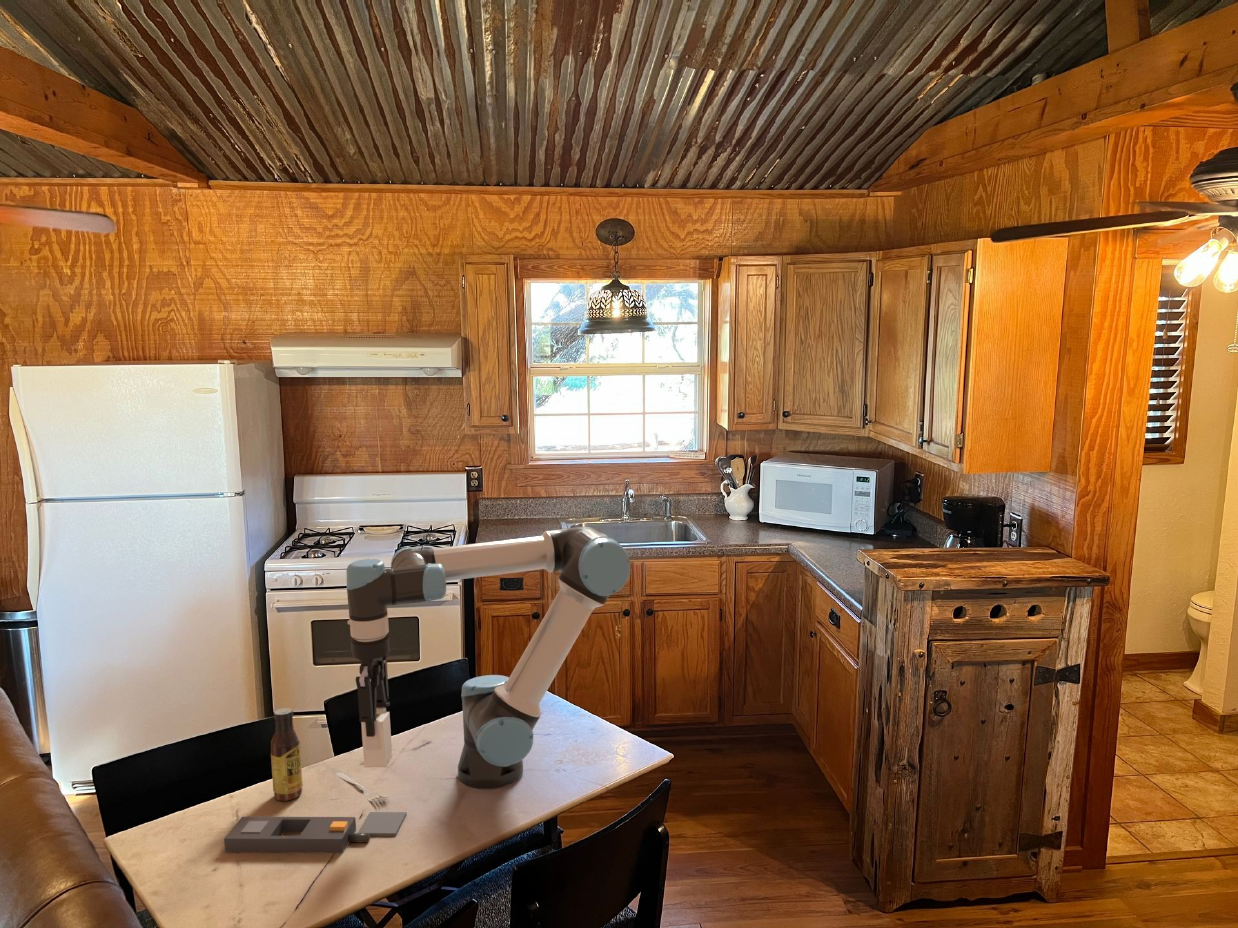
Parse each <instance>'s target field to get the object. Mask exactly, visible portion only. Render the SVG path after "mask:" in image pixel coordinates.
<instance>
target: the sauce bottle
mask: <svg viewBox="0 0 1238 928" xmlns="http://www.w3.org/2000/svg"><path fill="white" fill-rule="evenodd" d="M293 717H294V710H293V709H292V708H291V707H283V708H282V707H281V708H277V709H276V710H274V712H273V719H274V725H275V726H274V727H275V729H274V731H275V732H274V734H273V736H272V739H271V741H270V759H271V763H270V764H271V775H272V777H271V778H272V790H273V791H272V792H273V793H274V794H273V795H274V799H276V800H277V801H281V802H286V801H291V800H294V799H296V798H298V797H299V796H301V794H302V792H303V785H304V784H303V783H304V782H303V770H302V769H303V768H302V752H301V742H300V740H299V738H298V735H297V733H296V730H295V729H294V720H293V719H294V718H293Z"/></svg>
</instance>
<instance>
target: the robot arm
mask: <svg viewBox="0 0 1238 928" xmlns="http://www.w3.org/2000/svg"><path fill="white" fill-rule="evenodd" d="M537 570H538V571H539V570H545V571H547V572H548V573H555V572H556V573H557V572H561V573H560V575H559V576H558V578H557V580H558V584H559V585H558V586H559V591H558V592H557V593H556V595H555V597H554V599H553V600H552V603H550V606H549V608H548V610H547V611H546V613H545V615H544V617H543V618H542V620H541V622H540V624H539V625H538V627H537V629H536V631H535V632H534V634H533V636H532V638H531V639H530V641H529V642H528V645H527V646H526V648H525V650H523V653H522V655H521V656H520V659H519V660H518V661H517V663H516V666H515V667H514V669H513V671H512V672H511V674H510V675H509V676H505V675H502V674H501V675H500V674H488V675H481V676H476V677H473V678H470V679H468V680H466V681H465V682H464V683H463V684H462V686H461V695H460V696H461V701H462V704H461V705H462V723H463V725H462V726H463V747H462V750H461V754H460V756H459V757H460V758H459V761H458V765H457V776H458V779H459V782H461V783H462V784H463V785H465V786H467V787H470V788H473V789H480V790H481V789H482V790H483V789H484V790H486V789H487V790H489V789H491V790H492V789H497V788H502V787H506V786H508V785H511V784H512V783H514V782H516V781H517V780H519V779H520V778H521V776H522V775H523V773H524V761H523V760H524V759H525V758H526V757H527V756H528V755H529V753H530V751H531V750H532V748H533V745H534V731H533V730H534V728H535V726H536V725H537V723H538V721H539V719H540V718H541V715H542V711H541V707H540V706H541V705H540V704H541V702H542V700H543V698H544V696H545V695H546V693H547V691H548V689H549V688H550V686H551V684H552V682H553V681H554V679H555V677H556V676H557V674H558V672H559V671H560V668H561V667H562V665H563V663H564V662H565V660H566V658H567V656H568V654H569V653H570V651H571V650H572V647H573V645H574V644H575V643H576V640H577V639H578V637H579V635H580V633H581V632H582V630H583V628H584V627H585V625H586V623H587V621H588V619H589V618H590V616H591V615H592V613H593V611H594V610H595V609H596V608H599V607H603V606H604V605H605V603H606V602H607V601H608V599H609V597H610V596H611V595H614V594H615V593H618V592H619V591H621V590H622V589H623V587H624V586H625V585H626V584H627V582H628V580H629V578H630V574H631V561H630V557H629V555H628V553H627V551H626V550H625V548H624V547H623V546H622V545H621V543H619V542H618V541H617V540H616V539H614V538H611V537H610V536H608V535H607V534H605V533H604V532H603V531H601V530H600V529H598V528H595V527H591V526H574V527H567V528H560V529H553V530H544V532H543V533H542V534H541V535H539V536H530V537H522V538H514V539H504V540H495V541H488V542H487V541H486V542H479V543H468V544H462V545H461V544H460V545H455V546H445V547H437V548H428V549H427V548H426V549H425V548H424V549H416V548H414V547H411V546H409V547H407V546H406V547H403V548H402V547H401V548H400V549H399V550H397V551H395V553H394V554H393V556H392V559H391V561H390V568H386V566H385V563H384V561H382V560H381V559H377V558H371V559H370V558H366V559H365V558H364V559H359V560H356V561H352V562H351V563H349V565H347V568H346V593H347V594H346V595H347V606H348V617H349V620H347V625H349V630H350V637H351V638H350V649H351V656H352V658H354V659H357V660H359V661H360V665H359V671H358V672H359V675H360V676H356V677H355V684H356V689H357V698H358V699H357V700H358V702H357V703H358V714H359V716H358V717H359V719H358V721H359V722H360V723H361V722H364V726H365V740H366V750H380V736H379V720H378V718H377V717H376V712H387V707H390V705H391V701H387V700H390V699H389V698H390V696H389V695H390V691H389V679H388V675H389V674H388V654H389V653H390V651H391V650H390V649H391V646H390V635H389V634H388V633H389V632H390V630H389V629H390V628H389V626H390V625H389V616H388V615H389V614H388V613H389V612H388V606H396V605H397V606H398V605H406V604H408V605H409V604H415V603H426V602H427V603H430V602H432V601H437V600H442V599H444V598H445V596H446V594H447V582H449V581H457V580H464V579H465V580H466V579H473V578H480V577H482V578H483V577H489V576H491V577H492V576H497V575H506V574H513V573H521V572H522V573H523V572H529V571H537Z"/></svg>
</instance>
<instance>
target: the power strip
mask: <svg viewBox="0 0 1238 928" xmlns="http://www.w3.org/2000/svg"><path fill="white" fill-rule="evenodd" d="M356 824H357V823H356V816H241V817H240V818H239V819H238V820H237V822H236V823H235V824H234V826H233V827H232V828H231V829H230V831H229V832H228V833H227V834H226V835H225V836H224V838H223V842H224V852H225V853H275V854H276V853H277V854H278V853H281V854H282V853H284V854H285V853H289V854H290V853H291V854H292V853H295V854H296V853H301V854H302V853H303V854H304V853H305V854H307V853H309V854H310V853H312V854H314V853H315V854H316V853H317V854H318V853H319V854H321V853H322V854H331V853H333V854H343V853H344V852H345V851H346V849H347V847H348V845H349V843H369V842H370V840H371V836H370V834H358V833H356V831H357V825H356ZM284 833H285V834H286V833H287V834H292V833H293V834H295V833H297V834H300V835H283V834H284Z"/></svg>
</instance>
